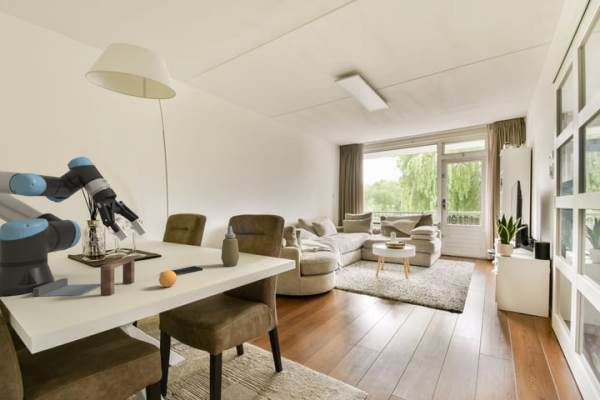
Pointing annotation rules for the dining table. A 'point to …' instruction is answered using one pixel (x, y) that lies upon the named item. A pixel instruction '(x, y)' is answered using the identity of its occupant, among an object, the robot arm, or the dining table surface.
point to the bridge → (108, 274)
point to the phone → (186, 270)
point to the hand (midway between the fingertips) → (134, 236)
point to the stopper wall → (50, 287)
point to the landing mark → (72, 290)
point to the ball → (167, 278)
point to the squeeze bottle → (230, 249)
